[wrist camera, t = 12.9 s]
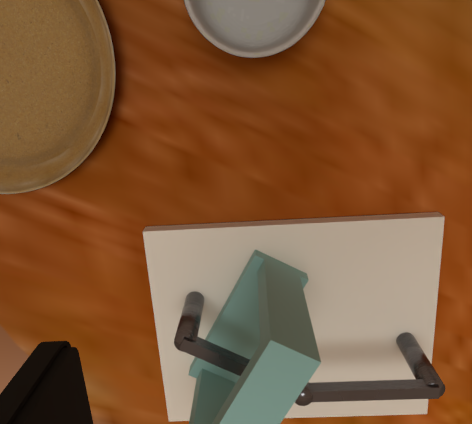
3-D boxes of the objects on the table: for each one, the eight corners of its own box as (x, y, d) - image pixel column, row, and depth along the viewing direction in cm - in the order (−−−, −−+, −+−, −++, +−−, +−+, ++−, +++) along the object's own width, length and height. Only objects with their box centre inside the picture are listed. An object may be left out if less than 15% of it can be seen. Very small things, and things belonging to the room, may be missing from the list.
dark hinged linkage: (416, 333, 47) (451, 387, 39) (402, 371, 48) (432, 430, 40) (187, 289, 46) (174, 334, 38) (180, 329, 48) (166, 381, 40)
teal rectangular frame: (306, 273, 45) (333, 368, 31) (237, 386, 50) (233, 514, 35) (255, 249, 44) (257, 334, 30) (190, 366, 49) (165, 487, 35)
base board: (438, 212, 44) (444, 216, 43) (422, 404, 51) (426, 413, 50) (145, 226, 45) (142, 231, 44) (171, 411, 53) (168, 421, 51)
